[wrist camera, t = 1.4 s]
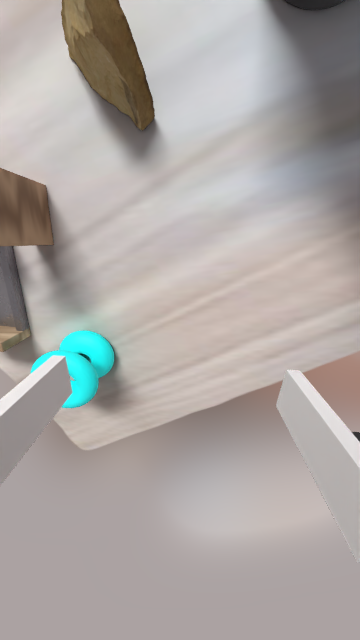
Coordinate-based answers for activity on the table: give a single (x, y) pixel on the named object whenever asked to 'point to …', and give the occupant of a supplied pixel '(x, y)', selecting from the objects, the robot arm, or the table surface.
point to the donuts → (83, 364)
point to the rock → (108, 56)
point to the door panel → (23, 211)
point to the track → (11, 292)
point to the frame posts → (11, 337)
